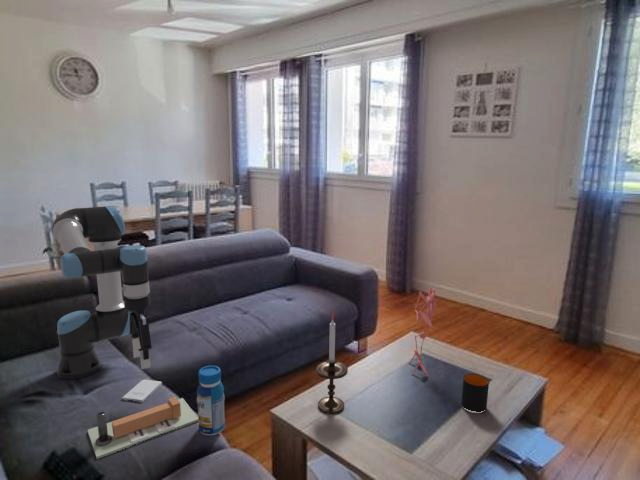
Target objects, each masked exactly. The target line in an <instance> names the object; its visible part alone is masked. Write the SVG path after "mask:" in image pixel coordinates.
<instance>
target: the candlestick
mask: <svg viewBox="0 0 640 480" xmlns="http://www.w3.org/2000/svg"><path fill="white" fill-rule="evenodd" d="M331 314H332V315H331V322H330V323H329V337H328V338H329V344H328V345H329V347H328V348H329V349H328V353H329V354H328V358H327V359H326V360H325V361H321V362H318V364H317V365H316V366H315V373H316V375H318V376H319V377H321V378H322V379H327V380H329V384H327V389H328V391H327V395H328V396H325V397H322V398H321V399H320V400H318V403H317V408H318V410H319V409H320V410H321V411H320V410H319V411H320V412H322V413H323V412H324V414H326V413H329V414H328V415H336V413H337V414H340V413H341V412H343V411H344V409H345V402H344V401H343V400H342V399H341V398H338V397H335V394H336V392H335V389H336V385H335V384H334V380H338V379H342V378H344V377H345V376H347V374H348V370H349V369H348V366H347V365H346V364H345V363H343V362H341V361H338V359H336V358H335V357H336V356H335V355H336V351H335V350H336V347H335V346H336V322H335V321H334V319H335V310H333V311H332V312H331ZM334 413H335V414H334Z"/></svg>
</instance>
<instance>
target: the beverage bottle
mask: <svg viewBox="0 0 640 480" xmlns="http://www.w3.org/2000/svg"><path fill="white" fill-rule="evenodd" d="M197 376H198V383H199V384H198V386H197V388H196V389H197V390H196V395H197V396H196V403H197V414H198V415H197V417H198V418H199V421H198V431H199V432H200V433H201V434H202V435H204V436H215V435H218V434H220V433H221V432H222V431H223V430H224V429H225V428H226V420H225V399H226V398H225V393H224V391H225V387H224V385H223V383H222V381H221V380H222V370H221V368H220V367H219V366H217V365H206V366H203V367H201V368H200V369H199V370H198V374H197Z"/></svg>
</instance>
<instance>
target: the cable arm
mask: <svg viewBox="0 0 640 480" xmlns="http://www.w3.org/2000/svg"><path fill="white" fill-rule="evenodd" d="M180 416H181V408H180V402H179V401H178V398H177V396H173V397H170V398H168V402H165V403H162V404H160V405H157V406H154V407H152V408H148V409H145V410H142V411H139V412H135V413H133V414H130V415H127V416H124V417H121V418H119V419H115V420H112V421H111V422H112V430H113V435H114V437H115V438H117V437H120V436H123V435H126V434H129V433H131V432H134V431H137V430H140V429H143V428H145V427H148V426H151V425H154V424H157V423H159V422H162V421H165V420H168V419H171V418H173V419H174V418H177V417H180Z"/></svg>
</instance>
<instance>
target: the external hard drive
mask: <svg viewBox="0 0 640 480" xmlns="http://www.w3.org/2000/svg"><path fill="white" fill-rule="evenodd" d="M162 385H163V382H162V381H158V380H150V379H142V380H140V382H138V383H137V384H136V385H134V387H133V388H131V389H130V390H129V391H128V392H127V393H126V394H124V395H123V396H122V397H121V400H122V399H127V400H126V401H128V400H133V401H132V402H135V401H140V402H139V403H144V402H145V401H146V400H147V399H148V398H149V397H150V396H151V395H152V394H154V392H156V391H157V389H158V388H159V387H161V386H162ZM149 395H150V396H149ZM148 396H149V397H148ZM147 397H148V398H147ZM146 398H147V399H146ZM145 399H146V400H145ZM144 400H145V401H144ZM143 401H144V402H143Z"/></svg>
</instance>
